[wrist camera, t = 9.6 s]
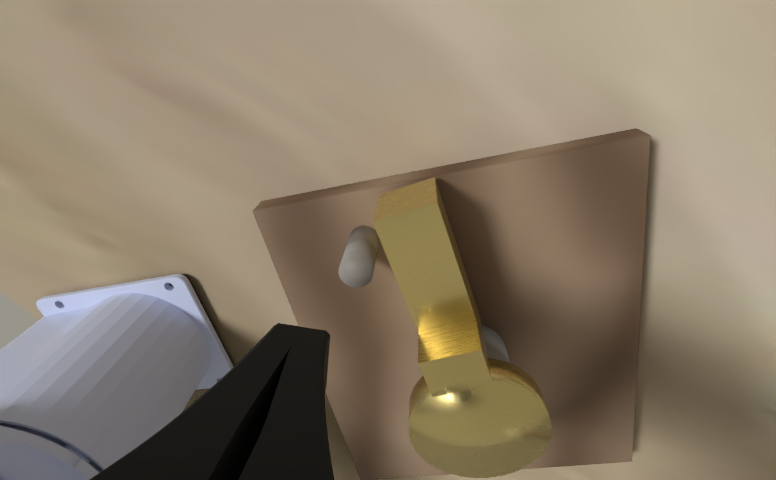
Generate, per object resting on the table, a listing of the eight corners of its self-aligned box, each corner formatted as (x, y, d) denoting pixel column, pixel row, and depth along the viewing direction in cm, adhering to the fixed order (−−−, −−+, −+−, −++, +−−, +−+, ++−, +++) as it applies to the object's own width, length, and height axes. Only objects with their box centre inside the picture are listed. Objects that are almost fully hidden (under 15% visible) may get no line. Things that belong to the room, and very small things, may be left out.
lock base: (363, 463, 29) (353, 532, 25) (261, 201, 20) (222, 243, 16) (623, 443, 26) (658, 517, 22) (636, 128, 17) (698, 158, 13)
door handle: (537, 385, 22) (563, 466, 18) (430, 406, 24) (432, 485, 19) (476, 163, 17) (493, 207, 13) (342, 206, 18) (319, 258, 14)
